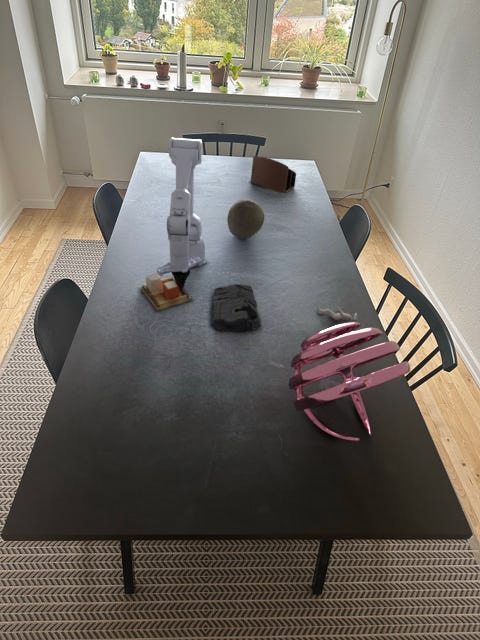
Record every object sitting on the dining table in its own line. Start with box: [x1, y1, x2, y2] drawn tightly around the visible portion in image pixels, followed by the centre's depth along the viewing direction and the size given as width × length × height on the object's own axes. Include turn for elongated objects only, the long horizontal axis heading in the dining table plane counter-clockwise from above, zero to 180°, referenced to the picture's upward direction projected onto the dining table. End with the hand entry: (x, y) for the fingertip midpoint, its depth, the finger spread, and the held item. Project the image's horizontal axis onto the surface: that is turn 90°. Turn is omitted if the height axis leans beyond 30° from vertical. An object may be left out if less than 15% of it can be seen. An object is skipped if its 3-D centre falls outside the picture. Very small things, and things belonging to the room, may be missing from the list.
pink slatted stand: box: [288, 321, 411, 442], centre depth 106 cm, size 28×28×27 cm
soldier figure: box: [317, 305, 358, 322], centre depth 144 cm, size 8×5×12 cm
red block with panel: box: [163, 281, 180, 300], centre depth 145 cm, size 4×4×5 cm
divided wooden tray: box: [140, 275, 192, 312], centre depth 148 cm, size 12×13×2 cm
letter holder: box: [250, 155, 297, 195], centre depth 219 cm, size 10×20×14 cm, turn 55°
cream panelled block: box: [145, 273, 163, 293], centre depth 148 cm, size 4×4×5 cm
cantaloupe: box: [226, 198, 265, 239], centre depth 178 cm, size 14×14×15 cm
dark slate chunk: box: [210, 283, 262, 332], centre depth 144 cm, size 15×22×5 cm
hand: (180, 288), depth 147 cm, fingers closed
